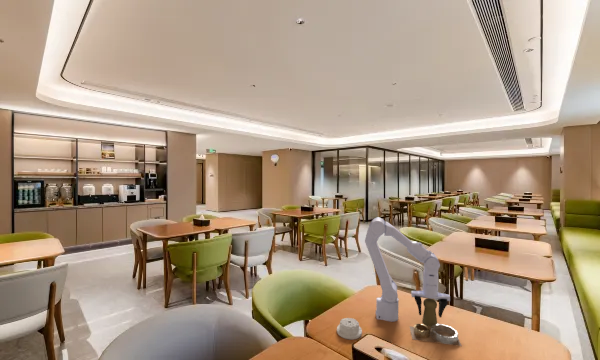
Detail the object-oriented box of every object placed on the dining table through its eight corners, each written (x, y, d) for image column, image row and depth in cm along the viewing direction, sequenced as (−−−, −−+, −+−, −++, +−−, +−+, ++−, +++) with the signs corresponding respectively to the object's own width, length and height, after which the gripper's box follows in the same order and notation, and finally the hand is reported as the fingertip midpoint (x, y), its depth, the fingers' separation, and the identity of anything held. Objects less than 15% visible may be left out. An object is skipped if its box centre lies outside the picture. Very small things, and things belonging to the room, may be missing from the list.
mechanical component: (366, 332, 115) (346, 323, 122) (366, 321, 115) (346, 312, 122) (352, 343, 108) (331, 332, 115) (352, 332, 108) (331, 322, 115)
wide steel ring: (433, 342, 107) (433, 335, 107) (429, 328, 116) (429, 322, 115) (460, 345, 104) (460, 339, 104) (453, 331, 113) (454, 325, 113)
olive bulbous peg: (439, 330, 116) (440, 303, 115) (423, 328, 117) (424, 302, 117) (435, 322, 122) (436, 297, 121) (420, 320, 123) (420, 295, 123)
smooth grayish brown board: (412, 341, 109) (412, 339, 109) (409, 328, 117) (409, 326, 117) (461, 348, 104) (461, 346, 104) (455, 334, 113) (455, 332, 113)
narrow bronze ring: (415, 337, 110) (415, 330, 110) (413, 328, 115) (413, 322, 115) (430, 339, 109) (430, 332, 108) (428, 330, 114) (428, 324, 114)
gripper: (447, 281, 121) (446, 312, 121) (410, 277, 124) (410, 308, 125) (451, 288, 114) (450, 321, 115) (412, 284, 118) (412, 316, 118)
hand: (429, 315), depth 119 cm, fingers open, 7 cm apart
